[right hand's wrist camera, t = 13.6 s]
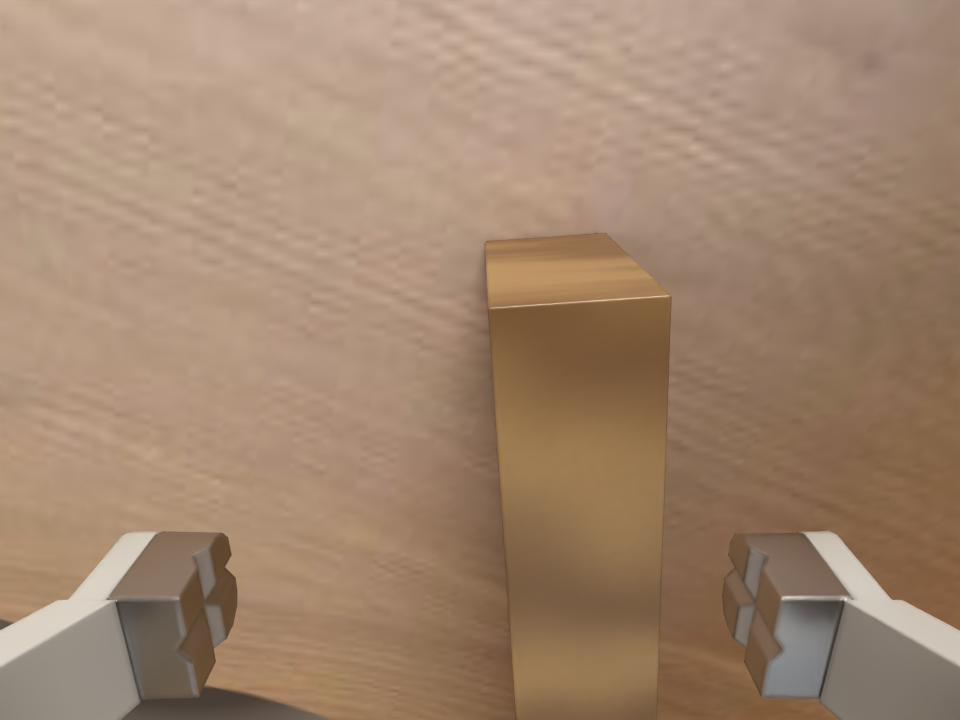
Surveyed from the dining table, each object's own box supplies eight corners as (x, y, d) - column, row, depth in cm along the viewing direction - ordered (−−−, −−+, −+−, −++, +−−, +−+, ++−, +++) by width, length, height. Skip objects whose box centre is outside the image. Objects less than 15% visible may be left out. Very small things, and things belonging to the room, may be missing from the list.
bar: (484, 240, 24) (487, 307, 16) (606, 232, 24) (672, 295, 16) (518, 742, 33) (531, 949, 25) (606, 738, 33) (649, 944, 25)
